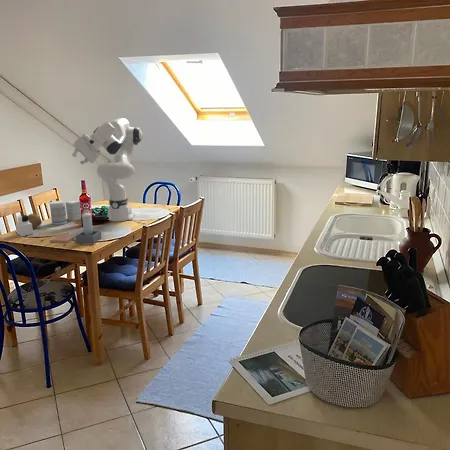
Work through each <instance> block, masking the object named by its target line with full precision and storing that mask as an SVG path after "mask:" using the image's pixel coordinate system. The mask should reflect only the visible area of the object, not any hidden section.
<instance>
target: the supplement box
mask: <svg viewBox="0 0 450 450" xmlns="http://www.w3.org/2000/svg"><path fill="white" fill-rule="evenodd" d="M80 202H81V201H80V200H69V201H65V209H66V218H67V221H72V222H74V221H79V220H81V211H80Z"/></svg>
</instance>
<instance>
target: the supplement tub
mask: <svg viewBox="0 0 450 450" xmlns="http://www.w3.org/2000/svg"><path fill="white" fill-rule="evenodd" d="M49 210H50V218H51V224H52V225H53V224H54V225H53V226H61V225H65V224H67V223H68V219H67V210H66V202H65V201H64V200H55V201H50V202H49Z"/></svg>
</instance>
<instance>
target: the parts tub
mask: <svg viewBox="0 0 450 450" xmlns="http://www.w3.org/2000/svg"><path fill="white" fill-rule="evenodd" d="M75 235H76V238H75V243H76V244H91V245H93V244H96V243H97V242H98V241H100V240H101V239H102V231H101V230H93V236H87V235H84V230H82V231H80V232H79V233H77V234H75ZM99 239H100V240H99Z"/></svg>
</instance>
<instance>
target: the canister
mask: <svg viewBox="0 0 450 450" xmlns="http://www.w3.org/2000/svg"><path fill="white" fill-rule="evenodd" d="M92 219H93V218H92V212H86V213H82V227H83V231H84V235H87V236H93V231H94V230H93V229H94V228H93V220H92Z"/></svg>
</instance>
